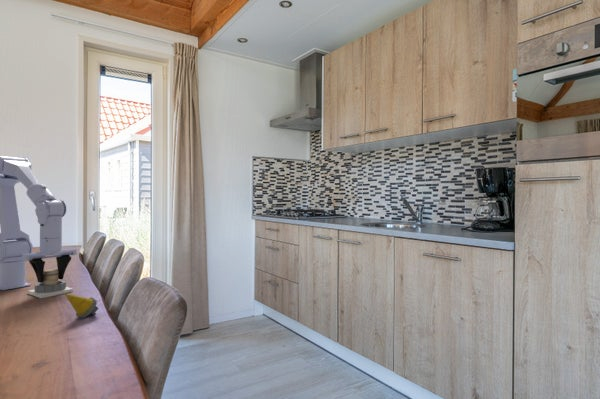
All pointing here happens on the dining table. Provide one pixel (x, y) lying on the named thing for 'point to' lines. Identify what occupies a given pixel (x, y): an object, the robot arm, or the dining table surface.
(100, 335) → the dining table surface
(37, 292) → the collar stand
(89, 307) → the cone
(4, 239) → the robot arm
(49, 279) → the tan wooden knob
